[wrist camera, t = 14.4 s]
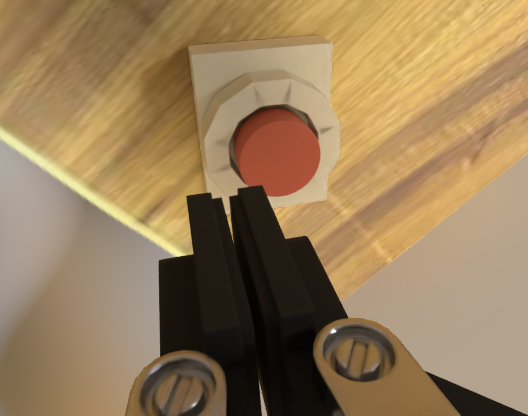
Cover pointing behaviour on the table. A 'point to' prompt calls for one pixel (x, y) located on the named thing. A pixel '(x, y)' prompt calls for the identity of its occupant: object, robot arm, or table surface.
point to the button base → (262, 104)
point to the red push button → (276, 152)
